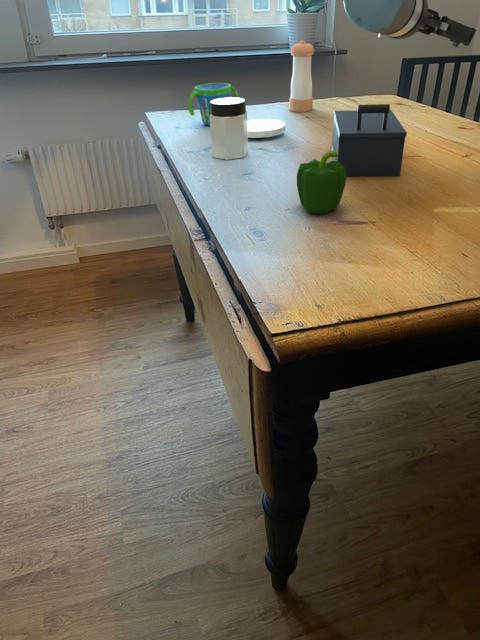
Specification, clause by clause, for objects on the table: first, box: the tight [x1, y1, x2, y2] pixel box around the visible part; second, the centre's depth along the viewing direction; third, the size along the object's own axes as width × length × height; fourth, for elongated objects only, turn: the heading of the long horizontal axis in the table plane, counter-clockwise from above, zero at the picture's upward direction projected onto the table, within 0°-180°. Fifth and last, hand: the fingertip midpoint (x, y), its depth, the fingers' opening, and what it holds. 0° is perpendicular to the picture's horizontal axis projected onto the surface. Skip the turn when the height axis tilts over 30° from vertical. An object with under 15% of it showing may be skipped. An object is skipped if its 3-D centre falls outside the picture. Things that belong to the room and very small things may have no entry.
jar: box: [209, 97, 249, 161], centre depth 116 cm, size 9×8×12 cm
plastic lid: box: [247, 118, 286, 139], centre depth 133 cm, size 14×14×2 cm
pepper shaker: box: [288, 39, 315, 113], centre depth 153 cm, size 7×7×19 cm
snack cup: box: [187, 82, 239, 127], centre depth 144 cm, size 16×10×10 cm
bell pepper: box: [296, 150, 347, 215], centre depth 86 cm, size 8×8×10 cm
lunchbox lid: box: [333, 103, 408, 138], centre depth 105 cm, size 21×13×5 cm, turn 174°
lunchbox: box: [331, 116, 406, 177], centre depth 109 cm, size 20×13×8 cm, turn 174°
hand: (427, 24), depth 94 cm, fingers open, 13 cm apart
